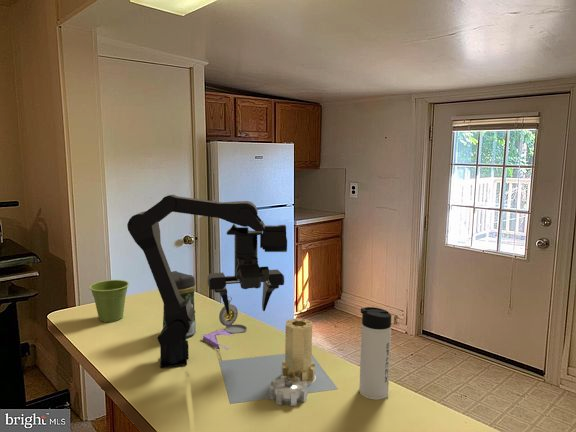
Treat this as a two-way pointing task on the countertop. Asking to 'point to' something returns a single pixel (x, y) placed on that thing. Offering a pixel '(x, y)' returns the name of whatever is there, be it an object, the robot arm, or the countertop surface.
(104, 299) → the plant pot
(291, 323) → the gear
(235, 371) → the gear board
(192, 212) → the robot arm
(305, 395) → the gear
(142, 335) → the countertop surface
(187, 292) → the coffee jar
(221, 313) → the pocket watch
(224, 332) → the sponges
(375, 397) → the travel mug
